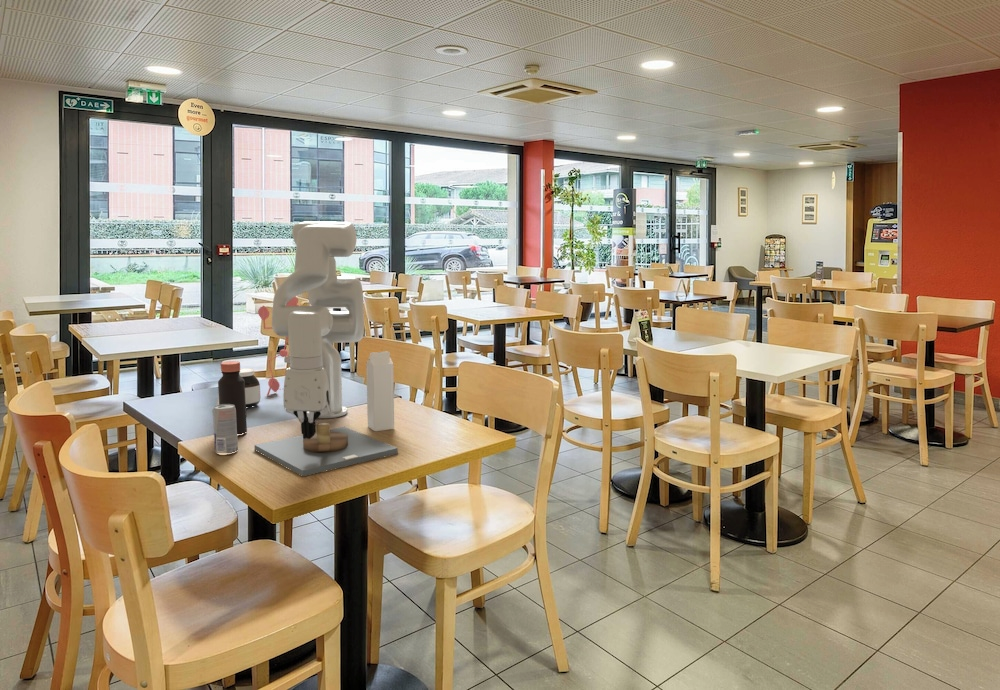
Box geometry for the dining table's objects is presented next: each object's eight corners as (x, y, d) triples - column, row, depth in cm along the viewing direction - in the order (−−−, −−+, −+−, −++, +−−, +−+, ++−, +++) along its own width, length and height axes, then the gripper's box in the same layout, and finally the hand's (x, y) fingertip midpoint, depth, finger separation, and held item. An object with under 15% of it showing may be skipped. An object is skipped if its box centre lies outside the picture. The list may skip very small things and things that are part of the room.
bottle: (222, 438, 189) (218, 365, 186) (219, 432, 195) (215, 361, 192) (248, 435, 192) (245, 363, 189) (245, 429, 198) (241, 359, 195)
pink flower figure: (302, 403, 228) (299, 295, 223) (248, 393, 241) (245, 291, 236) (335, 395, 241) (334, 293, 236) (283, 386, 254) (281, 290, 249)
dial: (304, 440, 183) (303, 410, 181) (348, 438, 185) (347, 408, 183) (300, 459, 167) (299, 427, 166) (347, 457, 169) (346, 425, 168)
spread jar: (264, 406, 225) (263, 370, 223) (234, 413, 216) (232, 376, 214) (240, 400, 231) (238, 366, 230) (210, 407, 222) (208, 371, 220)
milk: (394, 429, 200) (393, 353, 197) (374, 431, 197) (373, 354, 194) (387, 423, 205) (386, 349, 202) (367, 426, 202) (366, 351, 199)
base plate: (254, 450, 179) (254, 444, 179) (344, 431, 197) (344, 425, 196) (302, 476, 160) (302, 469, 160) (397, 453, 178) (397, 447, 178)
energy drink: (229, 448, 181) (227, 402, 179) (242, 451, 178) (240, 405, 176) (210, 453, 177) (208, 406, 175) (223, 457, 174) (221, 410, 172)
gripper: (268, 364, 164) (272, 440, 167) (330, 367, 162) (332, 443, 165) (283, 358, 171) (286, 430, 174) (342, 360, 169) (344, 434, 172)
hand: (308, 436), depth 170 cm, fingers closed
